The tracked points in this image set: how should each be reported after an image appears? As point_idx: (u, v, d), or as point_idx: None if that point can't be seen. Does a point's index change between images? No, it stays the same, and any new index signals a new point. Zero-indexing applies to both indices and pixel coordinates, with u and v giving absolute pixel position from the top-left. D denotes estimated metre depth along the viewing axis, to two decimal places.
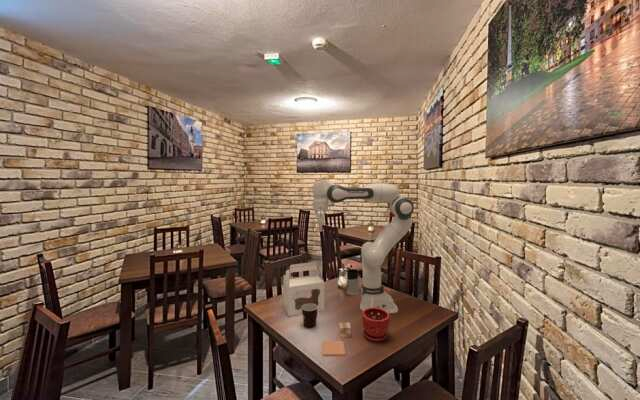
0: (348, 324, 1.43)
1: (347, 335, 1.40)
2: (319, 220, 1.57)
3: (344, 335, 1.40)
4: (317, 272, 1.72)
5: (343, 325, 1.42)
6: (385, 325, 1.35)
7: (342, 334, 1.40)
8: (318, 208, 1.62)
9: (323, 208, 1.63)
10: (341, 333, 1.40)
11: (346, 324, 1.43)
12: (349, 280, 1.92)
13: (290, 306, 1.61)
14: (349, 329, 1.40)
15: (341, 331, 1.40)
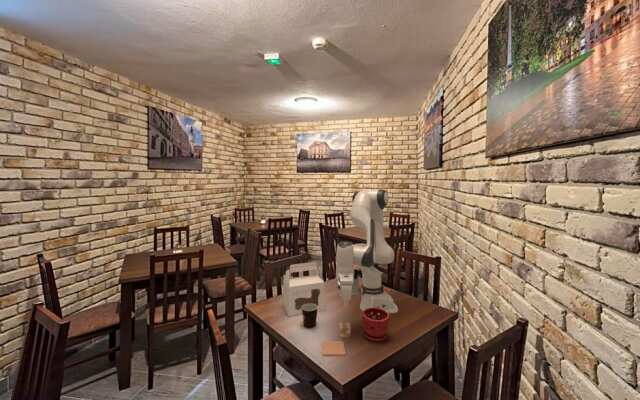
0: (348, 324, 1.43)
1: (347, 335, 1.40)
2: None
3: (344, 335, 1.40)
4: (317, 272, 1.72)
5: (343, 325, 1.42)
6: (385, 325, 1.35)
7: (342, 334, 1.40)
8: None
9: None
10: (341, 333, 1.40)
11: (346, 324, 1.43)
12: None
13: (290, 306, 1.61)
14: (349, 329, 1.40)
15: (341, 331, 1.40)
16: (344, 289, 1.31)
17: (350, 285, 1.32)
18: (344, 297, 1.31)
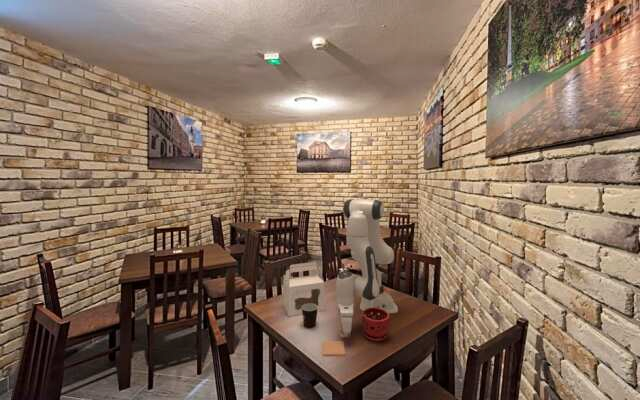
0: None
1: (347, 335, 1.40)
2: None
3: None
4: (317, 272, 1.72)
5: None
6: (385, 325, 1.35)
7: (342, 333, 1.40)
8: None
9: None
10: (341, 333, 1.40)
11: None
12: None
13: (290, 306, 1.61)
14: None
15: (341, 331, 1.40)
16: (344, 321, 1.32)
17: (350, 317, 1.33)
18: (344, 329, 1.32)
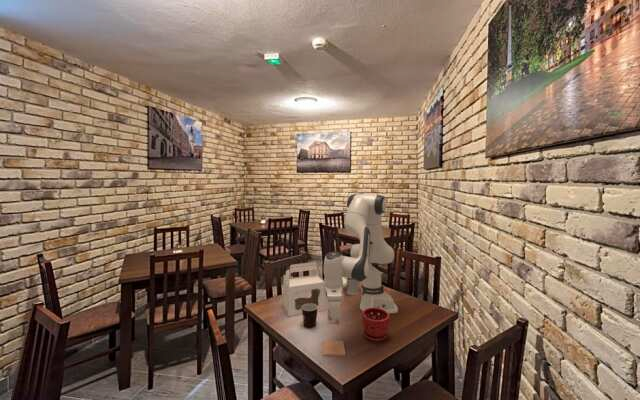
0: None
1: None
2: None
3: None
4: (317, 272, 1.72)
5: None
6: (385, 325, 1.35)
7: (330, 320, 1.27)
8: None
9: None
10: (329, 319, 1.27)
11: None
12: (349, 280, 1.92)
13: (290, 306, 1.61)
14: None
15: (329, 317, 1.27)
16: (331, 305, 1.19)
17: (338, 301, 1.20)
18: (332, 314, 1.19)
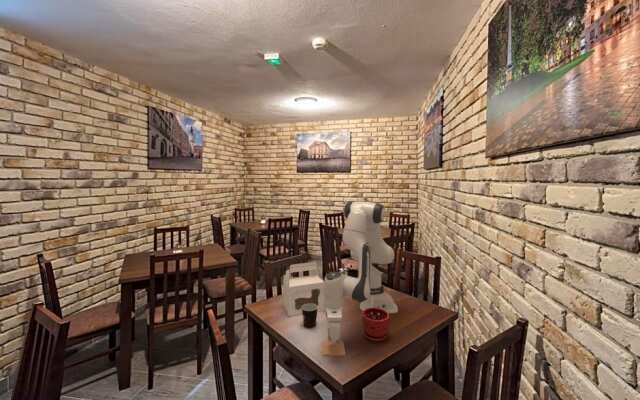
0: None
1: (336, 341, 1.27)
2: None
3: None
4: (317, 272, 1.72)
5: None
6: (385, 325, 1.35)
7: (330, 340, 1.27)
8: None
9: None
10: (329, 339, 1.27)
11: None
12: None
13: (290, 306, 1.61)
14: None
15: (329, 337, 1.27)
16: (332, 326, 1.20)
17: (338, 322, 1.21)
18: (332, 336, 1.19)
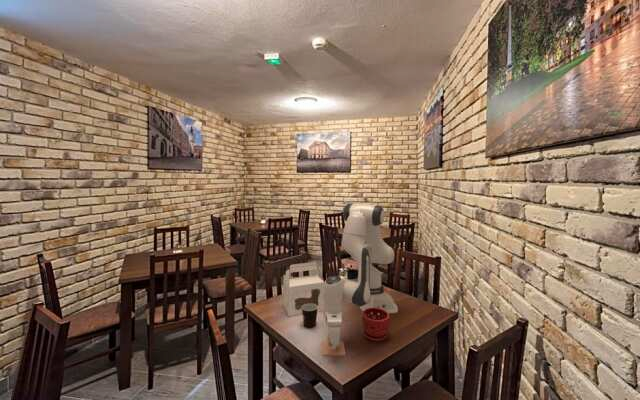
0: None
1: (336, 348, 1.28)
2: None
3: (332, 348, 1.28)
4: (317, 272, 1.72)
5: None
6: (385, 325, 1.35)
7: (330, 346, 1.28)
8: None
9: None
10: (329, 346, 1.28)
11: None
12: None
13: (290, 306, 1.61)
14: None
15: (329, 343, 1.28)
16: (331, 331, 1.20)
17: (338, 326, 1.21)
18: (332, 340, 1.20)
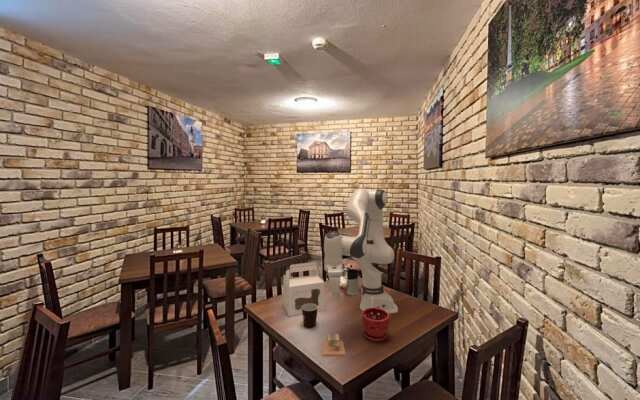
0: (337, 336, 1.31)
1: (336, 348, 1.28)
2: None
3: (332, 348, 1.28)
4: (317, 272, 1.72)
5: (331, 337, 1.30)
6: (385, 325, 1.35)
7: (330, 346, 1.28)
8: None
9: None
10: (329, 346, 1.28)
11: (335, 336, 1.31)
12: (349, 280, 1.92)
13: (290, 306, 1.61)
14: (338, 341, 1.28)
15: (329, 343, 1.28)
16: (332, 280, 1.27)
17: (338, 276, 1.28)
18: (332, 289, 1.27)
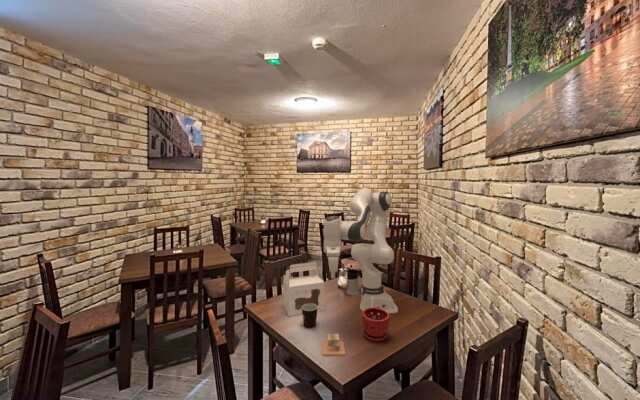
0: (337, 336, 1.31)
1: (336, 348, 1.28)
2: None
3: (332, 348, 1.28)
4: (317, 272, 1.72)
5: (331, 337, 1.30)
6: (385, 325, 1.35)
7: (330, 346, 1.28)
8: None
9: None
10: (329, 346, 1.28)
11: (335, 336, 1.31)
12: (349, 280, 1.92)
13: (290, 306, 1.61)
14: (338, 341, 1.28)
15: (329, 343, 1.28)
16: (330, 260, 1.35)
17: (336, 257, 1.36)
18: (331, 268, 1.35)
